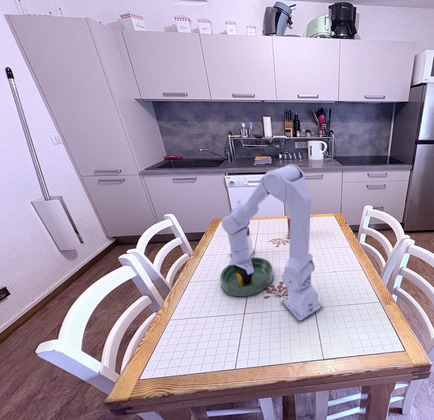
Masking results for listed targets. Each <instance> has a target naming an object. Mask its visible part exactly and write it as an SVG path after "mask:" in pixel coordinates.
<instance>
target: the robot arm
mask: <svg viewBox="0 0 434 420" xmlns="http://www.w3.org/2000/svg"><path fill="white" fill-rule="evenodd" d="M269 195H271V196H273V198H275V199H277V200H279V201H280V202H281V203H282V204H284V205H287V206H288V207H289V214H290V237H289V251H288V253H289V257H288V259H287V261H286V263H285V266H284V271H283V273H282V275H281V280H282V281H281V282H282V283H283V285H284V287H286V288H287V296H288V299H285V300H284V301H283V304H284V306H285V307H286V308H287V309H288V310H289V311H290V312H291V313H292V315H293V316H294V317H295V318H296V319H297V320H298V321H300V322H301V321H302V320H304V319H305V318H307V317H309V316H310V315H312V314H314V313H315V312H317V311H319V310H320V309H321V305H320V304H319V293H318V292H317V291H316V289H315V288H314V286H313V283H312V274H313V272H314V271H315V268H316V265H315V262H314V260H313V259H314V258H313V257H314V256H313V254H311V253H310V233H311V213H312V212H311V210H312V197H311V194H310V192H309V189H308V186H307V184H306V174H305V172H303V170H302V169H301V168H300V167H299V166H297V165H296V164H293V163H289V164H286V165H285V166H282V167H280V168H275V169H274V170H268V171H267V172H265V174H264V176H262V177H261V178H260V179H259V183H258V184H257V185H256V187H255V188H254V190H253V191H252V192H251V194H250V195H249V197H247V198H245V197H244V198H240V199H239V200H238V201H237V202H236V203H237V205H236V206H235V208H233V209H231V210H230V214H229V215H226V216H224V217H222V220H221V227H222V229H223V230H224V232H225V233H226V234H227V237H228V242H229V248H230V255H231V260H230V261H228V265H229V264H230V265H233V266H234V268H235V270H236V272H237V273H239V274H240V275H241V277H242V280H243V283H244V285H247V284H250V283H251V278H252V274H253V272H254V269H255V266H254V265H252V261H251V257H252V255H250V251H249V244H248V237H247V231H248V227H249V226H250V223H251V220H252V219H253V218H254V217H255V216H256V215H257V214H258V212H259V206H260V204H262V202H264V200H266V198H268V196H269Z"/></svg>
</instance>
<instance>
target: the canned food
mask: <svg viewBox="0 0 434 420" xmlns="http://www.w3.org/2000/svg"><path fill="white" fill-rule="evenodd" d="M286 217H287V218H286V219H287V233H288V237H289V238H290V213H288V214H287V216H286Z"/></svg>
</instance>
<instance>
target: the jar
mask: <svg viewBox="0 0 434 420" xmlns="http://www.w3.org/2000/svg"><path fill="white" fill-rule="evenodd" d="M250 231H251V230H250V228H249V226H248V231H247V237H248V244H249V251H250V256H252V255H253V254H254V247H253V242H252V241H253V240H252V234H251V233H250Z"/></svg>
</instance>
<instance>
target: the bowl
mask: <svg viewBox="0 0 434 420" xmlns="http://www.w3.org/2000/svg"><path fill="white" fill-rule="evenodd" d="M251 261H252V265H254V266H255V269H254V272H253V274H252V280H253V284H252V285H248V286H241V287H240V285H239V284H238V281H237V275H236V274H237V272H236V270H235V268H234V266H233V265H230V264H229V263H228V265H226V266H225V267H224V269H223V270H222V271H221V273H220V277H219V278H220V284H221V288H222V290H223V291H224V292H225V293H227V294H228V295H230V296H233V297H247V296H252V295H256V294H258V293H260V292H261V291H263V290H264V289H266V288H267V287H268V286H269V285H270V284H271V283H272V281H273V278H274V272H273V271H274V270H273V266H272V263H271V262H270V261H269V260H268V259H265V258H263V257H255V256H251Z"/></svg>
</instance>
